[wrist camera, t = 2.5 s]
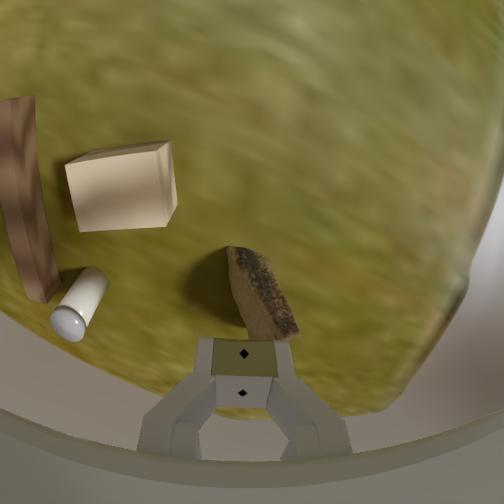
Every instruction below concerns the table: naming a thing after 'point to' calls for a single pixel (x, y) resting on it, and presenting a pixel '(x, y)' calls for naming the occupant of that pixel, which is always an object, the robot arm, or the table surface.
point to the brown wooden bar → (25, 200)
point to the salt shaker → (79, 304)
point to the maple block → (123, 187)
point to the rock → (260, 297)
